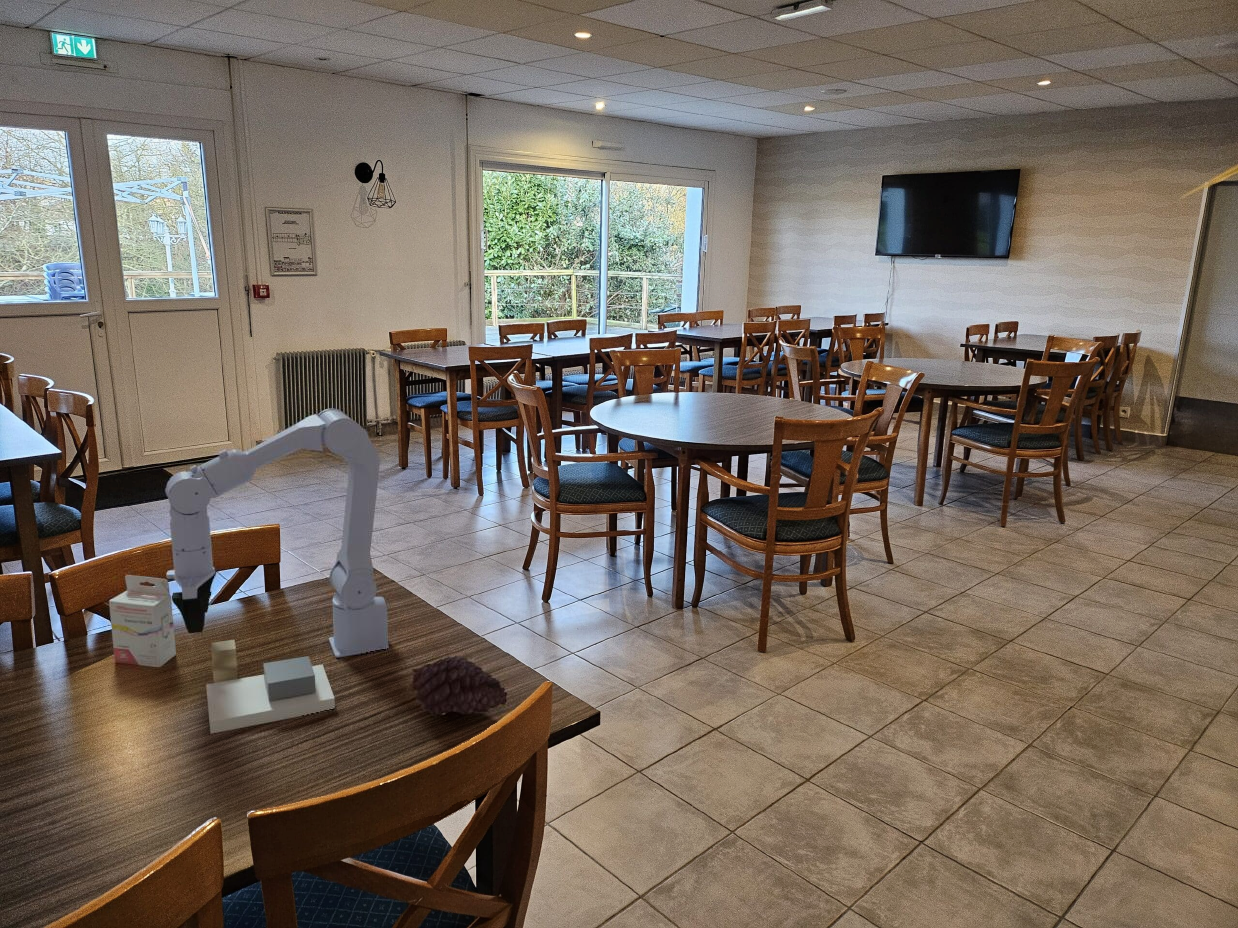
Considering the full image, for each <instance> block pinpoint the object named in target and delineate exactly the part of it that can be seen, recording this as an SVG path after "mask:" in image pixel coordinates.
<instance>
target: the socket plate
mask: <svg viewBox="0 0 1238 928" xmlns="http://www.w3.org/2000/svg"><path fill="white" fill-rule="evenodd" d="M312 668H313V671H314V674H315V689H316V692H313V693H308V694H303V695H297V696H292V697H286V698H281V699H276V700H270V701H269V699H268V695H267V690H266V686H265V681H264V674H260V675H259V674H258V675H253V676H247V677H242V678H238V679H235V680H229V681H223V682H218V683H214V682H211V683H207V684H205V685H206V696H207V708H208V720H209V732H210V734H215V733H216V734H217V733H220V732H226V731H233V730H236V729H240V728H243V729H244V728H247V727H252V726H257V725H261V724H263V725H264V724H267V723H273V722H278V721H284V720H288V719H292V718H299V717H303V716H302V715H304V716H308V715H307V714H309V715H312V714H311V713H314V714H317V713H316V712H319V713H321V712H320V711H324V710H329V709H333V708H335V709H336V705H335V696H334V693H333V690H332V688H331V684H330V682H329V679H328V676H327V673H326V671H325V668H324V664H318V665H312ZM329 711H330V710H329ZM324 712H325V711H324Z"/></svg>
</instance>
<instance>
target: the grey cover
mask: <svg viewBox="0 0 1238 928" xmlns="http://www.w3.org/2000/svg"><path fill="white" fill-rule="evenodd" d="M312 666H313V665H312V662H311V659H310V657H309V655H307V656H301V657H295V658H294V657H293V658H289V659H283V660H277V661H271V662H270V661H269V662H263V675H264V681H265V686H266V690H267V695H268V699H269V701H270V700H276V699H281V698H286V697H292V696H297V695H303V694H308V693H313V692H316V689H315V674H314V671H313V668H312Z"/></svg>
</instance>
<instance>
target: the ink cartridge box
mask: <svg viewBox="0 0 1238 928" xmlns="http://www.w3.org/2000/svg"><path fill="white" fill-rule="evenodd" d="M124 580H125V585H126V590H125V591H123V592H122V593H120V594H118V595H117V596H115V597H113V598H111V599H110V600H108V604H109V615H110V625H111V637H112V644H113V645H112V647H113V656H114V663H119V664H129V665H135V666H136V665H137V666H144V667H152V668H162V666H164V665H165V664H166V663H167V662H168V661H170V660H171V659H172V658H174V657H175V656H176V655H177V654H176V653H177V652H176V650H177V649H176V640H175V639H176V638H175V628H174V615H173V601H172V595H171V592H170V585H169V579H168V578H167V579H166V578H159V577H152V576H143V575H141V576H140V575H133V574H131V575H130V574H126V575H125V576H124ZM146 582H148V583H149V584H153V585H154V586H150V585H143V584H142V585H141V583H146Z"/></svg>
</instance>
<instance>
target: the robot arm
mask: <svg viewBox="0 0 1238 928" xmlns="http://www.w3.org/2000/svg"><path fill="white" fill-rule="evenodd" d="M323 445H325V446H326V448H327V449H328V450H329V451H330V452H331V453H334V454H335V455H338V456H339V457H342V458H343V459H344V460H345V461H346V462H347V463H348V465H349V469H348V477H347V478H348V479H347V488H346V497H345V498H346V499H345V508H344V515H343V517H344V519H343V525H342V526H343V527H342V538H341V546H340V549H339V550H338V552H337V553H336V560H335V562H334V564H333V566H332V568H331V570H330V571H329V582H330V584H331V586H332V587H333V588H334V589H335V593H334V595H333V598H332V599H331V600H332V622H333V623H332V628H333V630H332V631H333V636H330V637H328V641H329V645H330V646H331V649H332V651H333V654H334V656H335V658H337V659H338V658H343V657H344V658H345V657H349V656H354V655H355V656H356V655H361V653H362V654H367V653H366V652H368V653H371V652H370V651H374V652H376V651H375V650H380V649H386V650H388V649H390V647H389V635H388V634H389V631H388V630H389V625H388V619H389V618H388V609H387V603H386V600H385V598H384V596H376V595H377V584H376V582H375V580H374V566H373V565H374V564H373V561H372V556H371V550H372V549H371V548H372V541H373V532H374V531H373V530H374V520H375V512H376V503H377V502H376V501H377V493H378V484H379V474H380V466H381V459H380V455H379V453H378V452H377V449H376V448H375V445H374V444H373V442H372V441H371V438H370V437H369V435H368V430H366V429H364V428H363V427H362V426H361V425H360V424H359V423H357V421H355V420H353V419H352V417H351V418H350V417H349V415H347V414H346V413H344V412H343V411H342V410H340V409H337V408H326V409H324V410H322V411H320V412H319V413H318V414H315V413H314V414H311V415H308V416H307V417H305V418H304V419H302V420H300V421H298V422H297V423H294V425H291V426H289V427H288V428H286V429H285V430H282V431H280V432H279V433H277V434H275V435H274V436H272V437H270V438H267V439H266V440H264V441H262V442H261V443H259V444H257V445H255V446H253V447H252V448H250V449H248V450H240V449H235V448H233V449H231V450H229V451H227V449H222V450H220V451H218V452H217V454H218V456H217V457H215V458H212V459H211V460H208V461H207V462H205V463H202V464H201V465H199V466H196V464H195V465H191V466H190V467H189V471H185V470H184V471H179V472H177V473H175V474H173V475H172V476H171V477H170V478H169V480H168V481H167V483H166V487H165V489H164V491H165V495H166V496H167V499H168V502H169V507H170V508H169V517H170V520H169V529H170V538H171V540H170V541H171V549H172V550H171V551H172V560H173V569H171V570H168V571H167V572H166V576H165V577H166V578H167V579H174V580H175V581H176V583H177V584H178V585H179V587H180V589H181V591H178V592H177V591H176V592H173V593H172V595H171V601H172V604H174V606H175V607H176V608H177V609H178V610H179V613H180V614H181V617H182V619H183V622H184V625H185V629H186V631H187V633H188V634H197V633H203V631H204V627H205V621H206V614H207V613H208V611H209V607H210V606H209V605H210V599H211V596H212V591H211V590H212V585H213V582H214V580H215V578H216V575H217V572H218V571H217V568H215V567H214V561H213V550H212V549H213V548H212V537H211V523H210V517H209V515H208V505H210V504H209V503H210V501H211V499H216V498H218V497H220V496H222V495H224V494H226V493H228V492H230V491H232V490H234V489H236V488H238V487H240V486H242V485H244V484H245V483H248V482H250V481H252V480H253V478H254V475H255V472H256V470H257V469H260V468H262V467H264V466H265V465H268V464H270V463H272V462H275V461H277V460H280V459H282V458H284V457H287V456H288V455H291V454H293V453H296V452H297V451H299V450H303V449H304V450H310V451H311V450H312V451H317V452H324V449H323ZM387 648H388V649H387ZM380 651H381V650H380Z"/></svg>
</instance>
